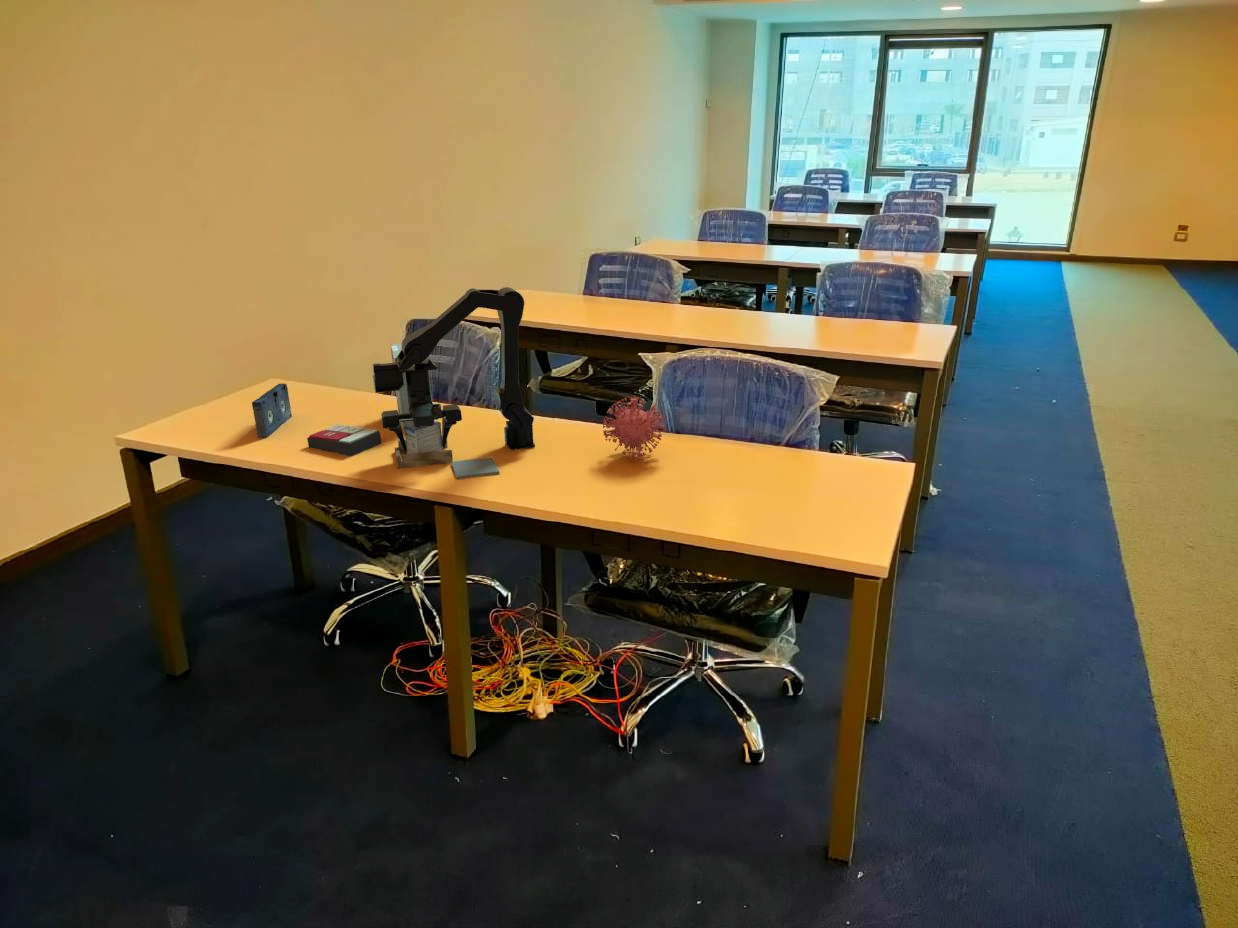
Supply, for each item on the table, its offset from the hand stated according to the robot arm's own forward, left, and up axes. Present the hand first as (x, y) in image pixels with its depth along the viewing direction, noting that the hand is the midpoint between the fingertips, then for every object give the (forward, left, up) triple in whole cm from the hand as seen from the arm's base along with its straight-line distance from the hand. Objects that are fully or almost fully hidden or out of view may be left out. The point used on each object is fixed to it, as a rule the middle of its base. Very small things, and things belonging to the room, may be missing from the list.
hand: (424, 449), depth 212 cm
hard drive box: (0, -32, -2) cm, 32 cm away
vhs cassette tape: (+37, -37, -2) cm, 52 cm away
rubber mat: (-10, +12, -2) cm, 16 cm away
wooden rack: (0, 0, -2) cm, 2 cm away
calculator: (+19, -15, -3) cm, 25 cm away
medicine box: (0, 0, -2) cm, 2 cm away
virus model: (-49, +16, -2) cm, 52 cm away
